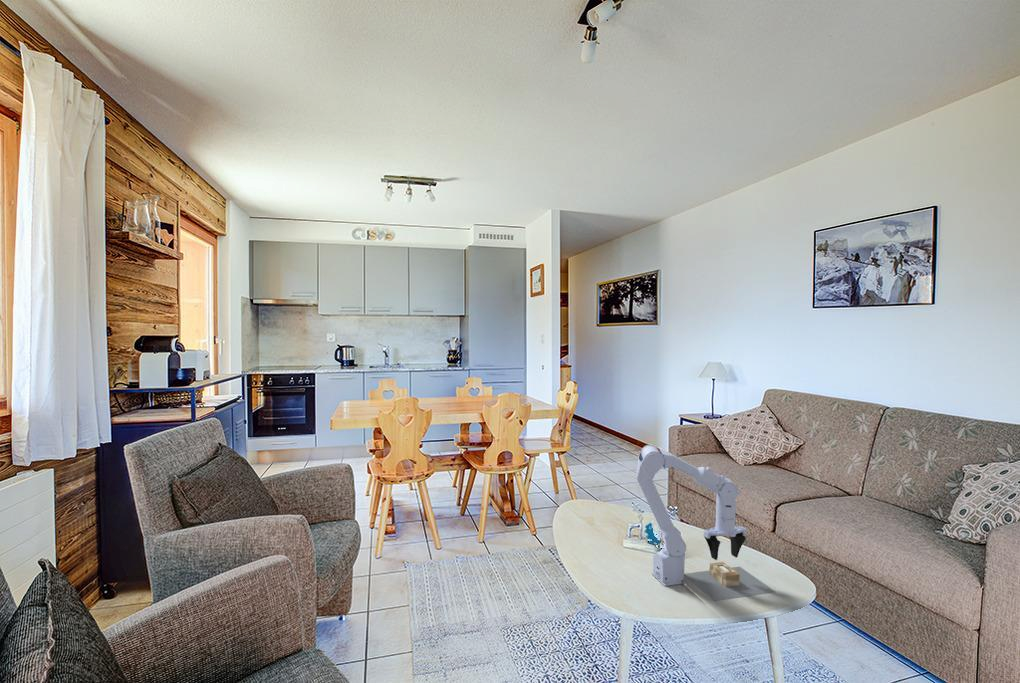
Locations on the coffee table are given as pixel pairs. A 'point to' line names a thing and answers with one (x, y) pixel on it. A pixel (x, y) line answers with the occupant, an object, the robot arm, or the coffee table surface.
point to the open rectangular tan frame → (724, 574)
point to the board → (720, 592)
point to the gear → (651, 534)
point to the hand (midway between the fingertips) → (724, 557)
